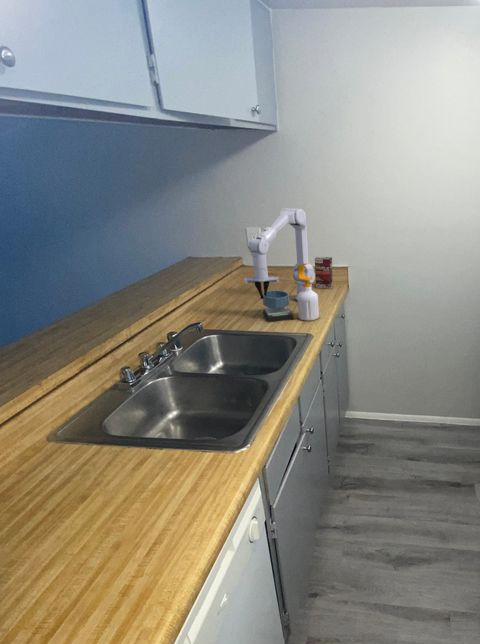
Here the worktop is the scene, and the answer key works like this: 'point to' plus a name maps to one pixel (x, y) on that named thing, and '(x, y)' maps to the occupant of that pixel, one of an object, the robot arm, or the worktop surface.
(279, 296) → the bowl
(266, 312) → the scale
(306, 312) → the spray bottle
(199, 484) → the worktop surface
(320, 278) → the supplement box
